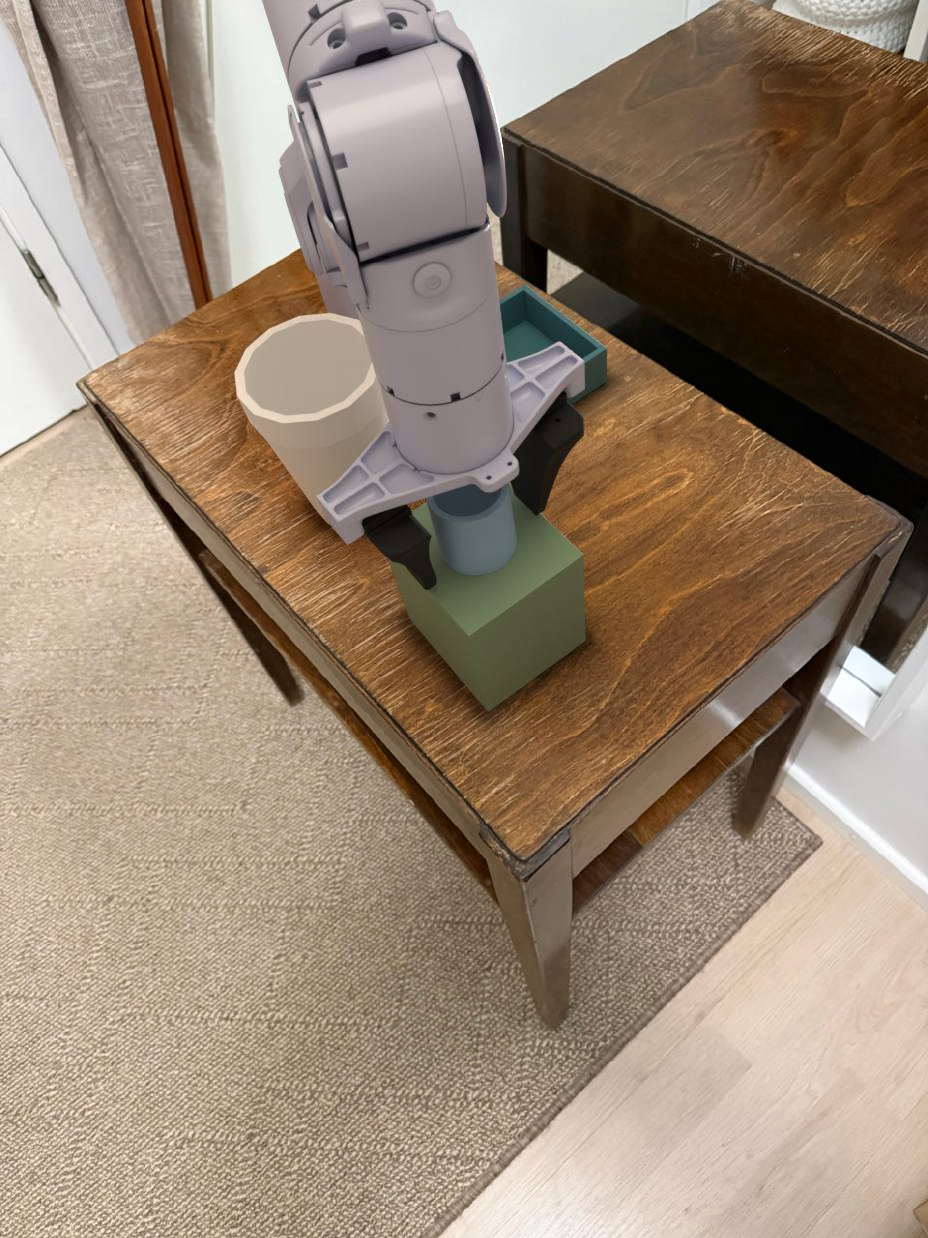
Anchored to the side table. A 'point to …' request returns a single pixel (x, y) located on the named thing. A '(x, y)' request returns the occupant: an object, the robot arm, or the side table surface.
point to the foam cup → (312, 397)
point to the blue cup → (474, 528)
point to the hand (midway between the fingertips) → (476, 538)
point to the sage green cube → (502, 608)
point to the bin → (549, 335)
